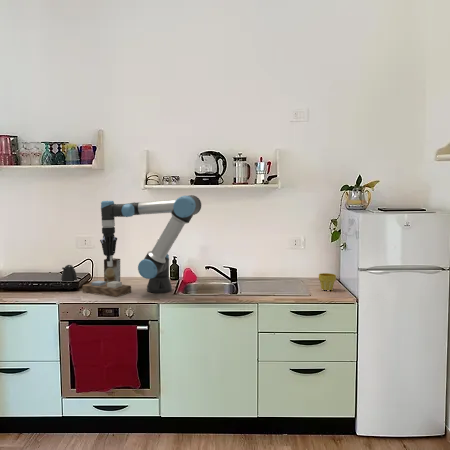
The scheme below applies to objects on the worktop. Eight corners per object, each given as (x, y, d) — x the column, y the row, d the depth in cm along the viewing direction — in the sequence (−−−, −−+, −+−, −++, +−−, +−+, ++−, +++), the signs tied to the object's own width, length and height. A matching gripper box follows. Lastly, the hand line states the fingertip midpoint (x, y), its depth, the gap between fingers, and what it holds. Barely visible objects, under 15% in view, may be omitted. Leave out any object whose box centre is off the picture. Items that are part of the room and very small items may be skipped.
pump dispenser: (56, 290, 313) (56, 265, 311) (69, 286, 322) (68, 262, 320) (69, 291, 308) (68, 266, 306) (81, 288, 317) (81, 264, 316)
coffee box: (103, 284, 330) (103, 259, 329) (108, 282, 337) (107, 257, 335) (116, 284, 328) (116, 260, 327) (121, 282, 334) (120, 258, 333)
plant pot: (330, 287, 324) (330, 272, 323) (338, 291, 314) (339, 275, 313) (315, 288, 320) (315, 273, 319) (323, 292, 311) (323, 276, 310)
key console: (130, 292, 308) (130, 285, 307) (117, 296, 296) (116, 290, 296) (97, 287, 320) (97, 281, 319) (82, 291, 308) (82, 285, 308)
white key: (121, 287, 306) (121, 282, 306) (115, 289, 301) (115, 283, 301) (113, 286, 309) (113, 281, 309) (107, 288, 304) (107, 282, 303)
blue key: (106, 286, 312) (105, 281, 311) (99, 288, 306) (99, 283, 306) (98, 285, 314) (98, 280, 314) (91, 287, 309) (91, 282, 309)
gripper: (110, 225, 311) (112, 264, 313) (95, 227, 299) (97, 267, 301) (120, 226, 307) (122, 265, 309) (105, 228, 296) (107, 268, 298)
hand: (109, 266), depth 305 cm, fingers closed
